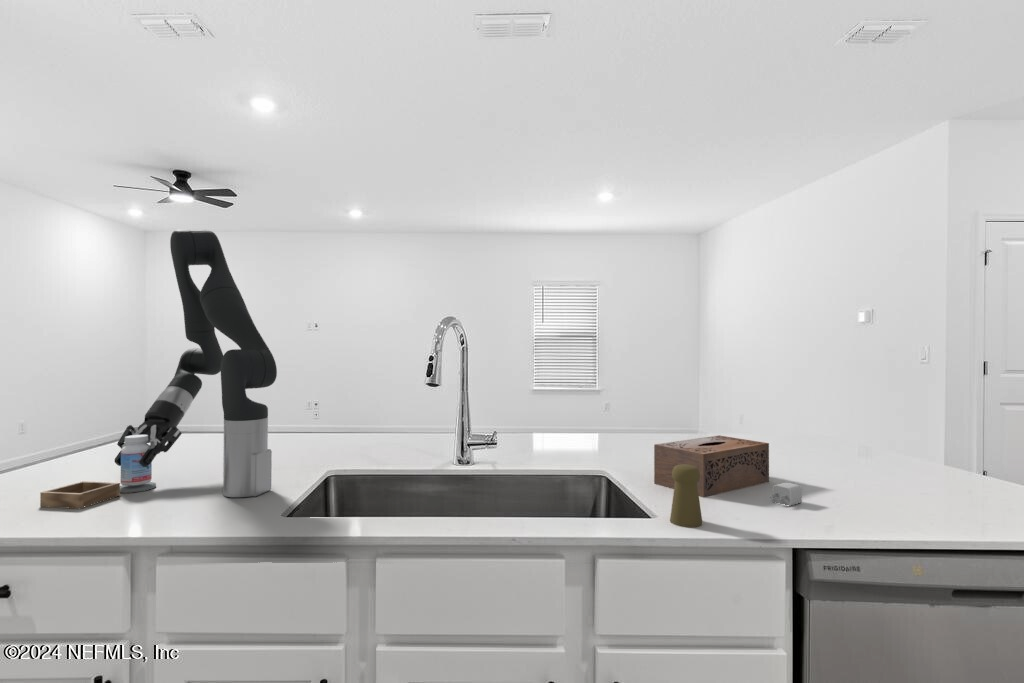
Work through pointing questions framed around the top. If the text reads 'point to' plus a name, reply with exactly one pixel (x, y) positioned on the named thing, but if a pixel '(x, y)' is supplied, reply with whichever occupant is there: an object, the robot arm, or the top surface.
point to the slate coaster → (137, 487)
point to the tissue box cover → (714, 463)
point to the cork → (686, 497)
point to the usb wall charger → (787, 494)
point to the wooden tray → (79, 494)
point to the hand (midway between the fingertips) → (130, 464)
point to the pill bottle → (135, 461)
